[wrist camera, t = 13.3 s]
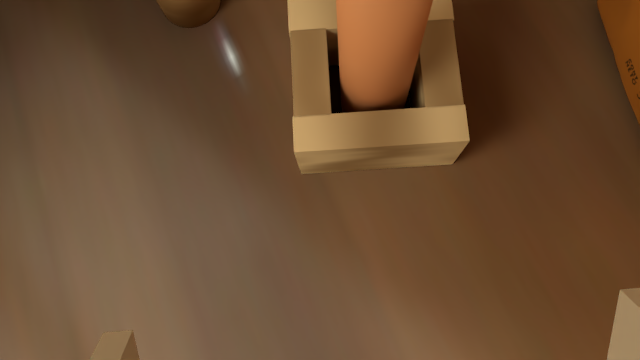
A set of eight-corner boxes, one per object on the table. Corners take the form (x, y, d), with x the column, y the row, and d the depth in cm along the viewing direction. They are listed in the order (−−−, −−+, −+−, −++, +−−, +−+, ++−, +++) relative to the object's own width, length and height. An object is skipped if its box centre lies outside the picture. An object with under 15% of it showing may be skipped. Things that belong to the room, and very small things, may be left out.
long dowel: (343, 134, 28) (336, -28, 15) (338, 74, 29) (328, -131, 16) (408, 129, 28) (461, -39, 15) (401, 69, 29) (446, -142, 15)
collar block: (301, 173, 28) (293, 152, 24) (295, 40, 30) (287, 0, 26) (452, 164, 28) (469, 140, 24) (436, 29, 29) (450, -13, 26)
